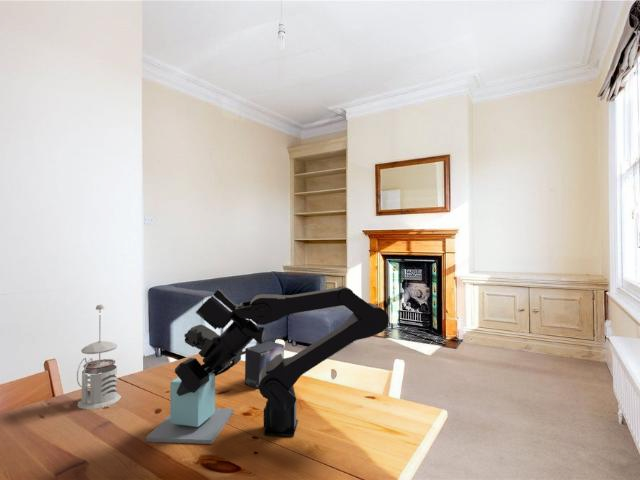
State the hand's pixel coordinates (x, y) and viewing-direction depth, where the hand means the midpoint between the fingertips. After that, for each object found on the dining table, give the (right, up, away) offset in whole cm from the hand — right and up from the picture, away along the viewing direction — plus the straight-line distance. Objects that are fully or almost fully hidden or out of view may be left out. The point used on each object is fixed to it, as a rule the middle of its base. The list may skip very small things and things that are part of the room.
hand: (188, 387), depth 81 cm
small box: (+13, -9, +26) cm, 30 cm away
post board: (+1, -8, 0) cm, 8 cm away
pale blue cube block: (+1, -7, 0) cm, 7 cm away
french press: (-28, -9, +12) cm, 31 cm away
